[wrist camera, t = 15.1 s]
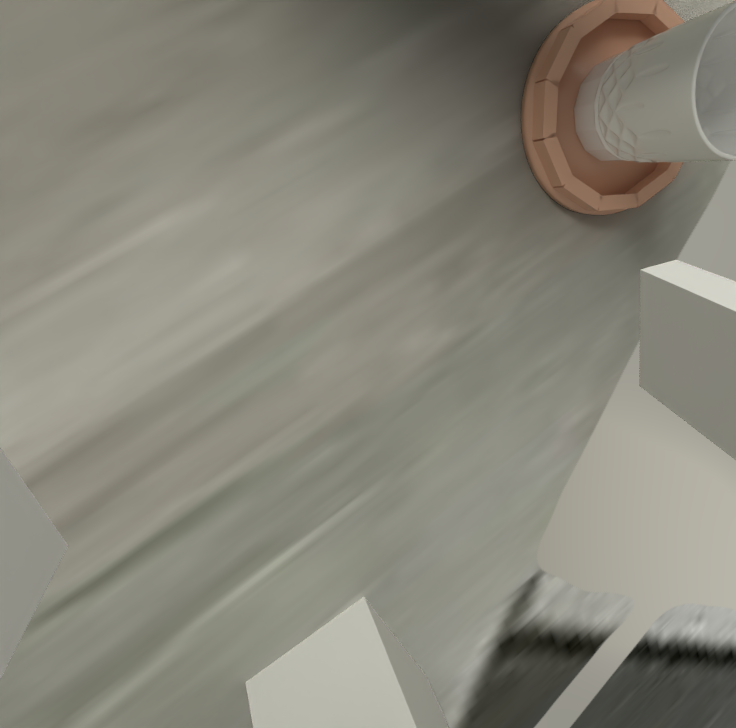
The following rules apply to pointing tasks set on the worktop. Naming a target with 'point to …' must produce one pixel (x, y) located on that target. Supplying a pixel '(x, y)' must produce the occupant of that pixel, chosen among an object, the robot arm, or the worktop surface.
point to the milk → (345, 680)
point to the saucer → (558, 97)
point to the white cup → (665, 96)
